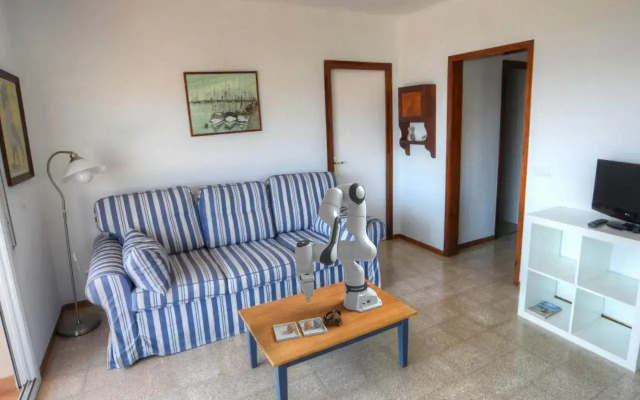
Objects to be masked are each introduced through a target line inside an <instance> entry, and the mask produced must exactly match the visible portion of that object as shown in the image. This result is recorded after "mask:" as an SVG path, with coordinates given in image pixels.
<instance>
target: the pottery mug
mask: <svg viewBox="0 0 640 400" xmlns="http://www.w3.org/2000/svg"><path fill="white" fill-rule="evenodd" d="M329 315H331V316H329ZM341 316H342V312H341V310H340V309H335V310H329V311H328V312H326V313H325V315H324V316H323V318H322V321H323V323H324V325H325V324H326V325H327V324H328V326H329V325H331V324H330V323H331V322H334V323H335V322H336V320H339V323H338V326H339V327H342V326H343V324H344V322H343V320H342V317H341ZM335 319H336V320H335Z"/></svg>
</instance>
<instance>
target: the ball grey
mask: <svg viewBox="0 0 640 400" xmlns="http://www.w3.org/2000/svg"><path fill="white" fill-rule="evenodd" d="M313 324H314V326H315V327H320V325H321V321H320V320H318V319H316V320H315V321H314V323H313Z"/></svg>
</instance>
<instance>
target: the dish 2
mask: <svg viewBox="0 0 640 400" xmlns="http://www.w3.org/2000/svg"><path fill="white" fill-rule="evenodd" d="M316 319H318V320H320V321H321V325H320V327H315V326H314V324H313V323H314V321H315V320H316ZM306 321H310V322H311V323H312V327H311V328H310V329H306V328H305V327H304V323H305V322H306ZM298 325H299V326H300V330H301V331H302V334H303V337H304V338H305V337H307V338H308V337H311V336H312V337H313V336H317V335H321V334H328V329H327V327H326V326H325V323H324V320H323V318H322V317H321V316H320V317H313V318H308V319H302V320H298Z"/></svg>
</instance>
